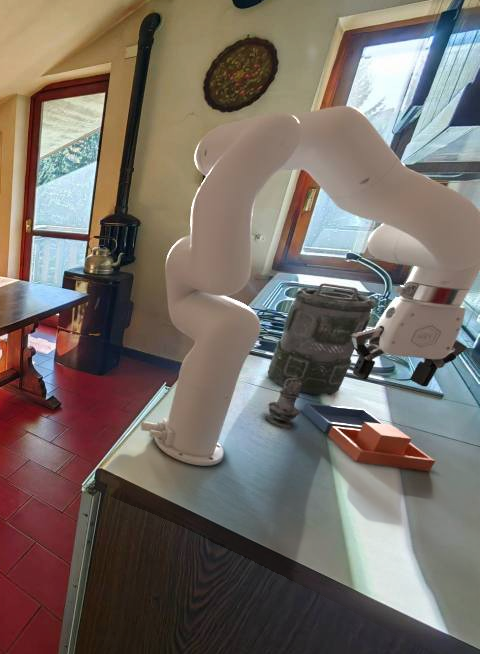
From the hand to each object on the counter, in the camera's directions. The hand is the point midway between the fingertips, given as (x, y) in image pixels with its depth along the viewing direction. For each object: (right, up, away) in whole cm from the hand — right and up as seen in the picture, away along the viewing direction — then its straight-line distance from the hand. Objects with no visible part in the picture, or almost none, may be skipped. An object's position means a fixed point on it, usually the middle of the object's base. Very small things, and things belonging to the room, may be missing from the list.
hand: (388, 379), depth 76 cm
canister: (+11, -4, +33) cm, 35 cm away
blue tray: (+4, -12, +14) cm, 19 cm away
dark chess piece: (-10, -11, +15) cm, 21 cm away
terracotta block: (+2, -15, +4) cm, 16 cm away
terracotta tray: (+2, -15, +4) cm, 16 cm away
